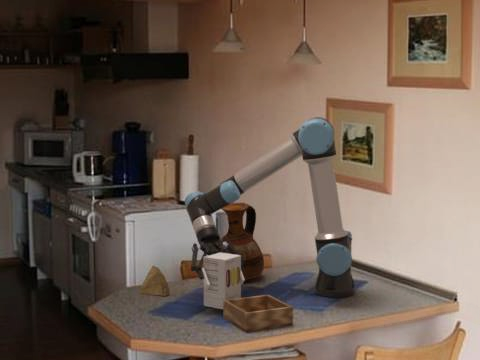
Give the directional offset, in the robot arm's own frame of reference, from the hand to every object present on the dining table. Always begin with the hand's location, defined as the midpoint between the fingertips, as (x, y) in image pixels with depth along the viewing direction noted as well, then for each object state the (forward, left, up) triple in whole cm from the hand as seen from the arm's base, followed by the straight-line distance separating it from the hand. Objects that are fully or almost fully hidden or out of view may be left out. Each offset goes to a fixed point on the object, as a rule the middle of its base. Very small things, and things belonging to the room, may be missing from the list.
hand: (225, 284), depth 270 cm
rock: (+13, -32, -10) cm, 36 cm away
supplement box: (0, -2, -8) cm, 8 cm away
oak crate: (-5, +14, -10) cm, 17 cm away
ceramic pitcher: (-25, -40, -10) cm, 48 cm away
